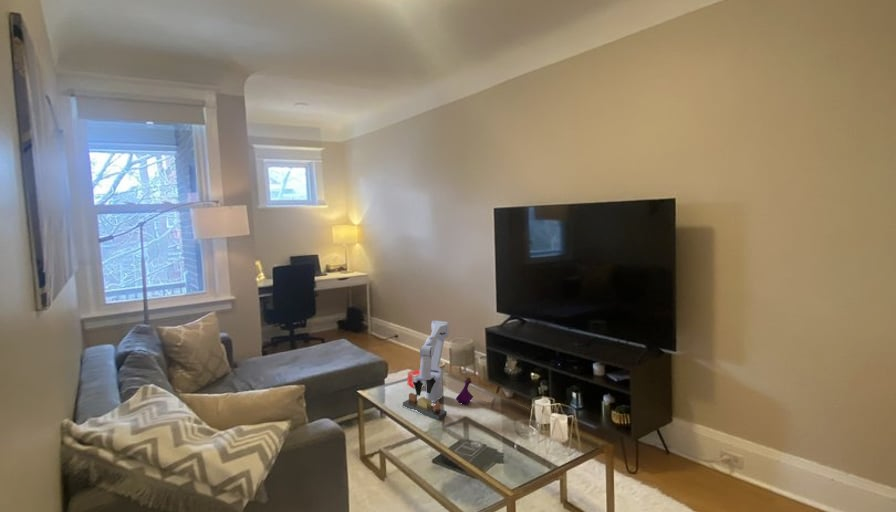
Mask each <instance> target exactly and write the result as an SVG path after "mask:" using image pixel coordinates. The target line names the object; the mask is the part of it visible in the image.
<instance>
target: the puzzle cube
mask: <svg viewBox="0 0 896 512" xmlns="http://www.w3.org/2000/svg"><path fill="white" fill-rule="evenodd" d="M418 376H420V369H416V370H410V371H407V385H408V386H409V387H411V388H412V389H413V390H416V389H415V386H414V384H413V379H414V378H416V377H418ZM420 382H421V383H423V385H422V386H425V387H426V382H424V381H420Z"/></svg>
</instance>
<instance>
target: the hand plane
mask: <svg viewBox="0 0 896 512" xmlns="http://www.w3.org/2000/svg"><path fill="white" fill-rule="evenodd" d="M403 406H405V407H407V408H410V409H414V410H417V411H418V412H420V413H422V414H423V415H422V414H421V415H422V416H425V417H427V416H428V418H430V419H433V420H436V421H441V420H442V419H444V418H446V417H447V415H448V414H447V413H448V412H447V410H444V409H441V403H440V402H433V405H431V408H429V409H427V410H426V409H423V408H420V407H418V395H416V394H415V393H413V392H410V393H409V394H408V399H406V400H405V401H403V402H402V407H403ZM407 408H406V409H407ZM420 413H419V414H420Z"/></svg>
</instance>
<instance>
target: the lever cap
mask: <svg viewBox="0 0 896 512" xmlns="http://www.w3.org/2000/svg"><path fill="white" fill-rule="evenodd" d="M417 400H418V407H420V408H423V409H426V410H427V409H429V408H431V406H432V402H431V401H432V400H430V399H427V398H425V396H422V397H419V398H417Z"/></svg>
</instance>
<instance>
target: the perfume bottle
mask: <svg viewBox="0 0 896 512" xmlns="http://www.w3.org/2000/svg"><path fill="white" fill-rule="evenodd" d="M464 374H465V375H466V376H467V377H466V378H465V379H464V380H463V381H464V385H463V389H462V390H461V391H460V392H459V394H458V395H457V396H456V397H455V400H456V401H457V402H458V404H459V403H462V404H461V405H463V404H467V405H469V403H470V402H471V401H472V399H473V398H474V395H472V394H471V393H470V391H469V390H468V388H469V385H470V384H472V378H471V377H469V372H468V371H463V372H462V374H461V375H464ZM470 400H471V401H470Z"/></svg>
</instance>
